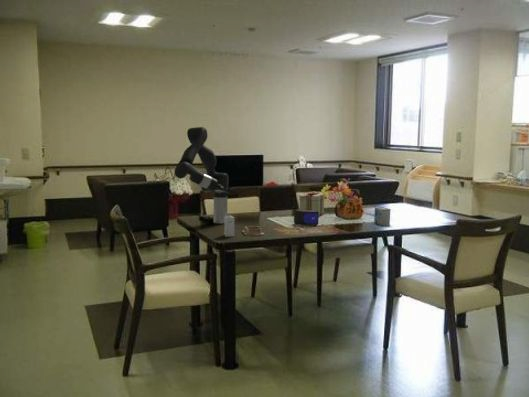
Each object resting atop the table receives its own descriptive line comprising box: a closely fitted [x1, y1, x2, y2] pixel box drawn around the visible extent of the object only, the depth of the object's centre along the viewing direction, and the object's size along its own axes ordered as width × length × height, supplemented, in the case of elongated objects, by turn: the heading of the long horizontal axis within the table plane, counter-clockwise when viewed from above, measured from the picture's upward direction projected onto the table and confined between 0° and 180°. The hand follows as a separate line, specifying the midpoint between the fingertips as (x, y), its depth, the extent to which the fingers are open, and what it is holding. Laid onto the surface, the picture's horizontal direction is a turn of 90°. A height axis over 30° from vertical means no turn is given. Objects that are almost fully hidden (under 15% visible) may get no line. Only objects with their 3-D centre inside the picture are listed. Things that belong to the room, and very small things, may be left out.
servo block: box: [224, 215, 235, 238], centre depth 311 cm, size 5×5×12 cm
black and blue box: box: [293, 209, 320, 226], centre depth 350 cm, size 16×5×9 cm, turn 81°
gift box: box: [298, 190, 326, 217], centre depth 392 cm, size 17×18×17 cm
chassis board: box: [241, 225, 265, 237], centre depth 318 cm, size 13×11×4 cm
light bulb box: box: [373, 206, 391, 226], centre depth 358 cm, size 11×7×11 cm, turn 14°
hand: (230, 193), depth 313 cm, fingers open, 8 cm apart
